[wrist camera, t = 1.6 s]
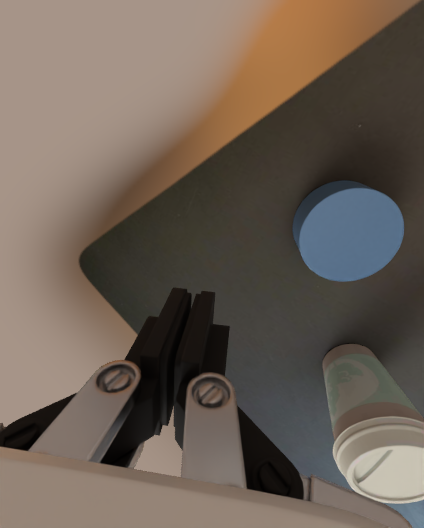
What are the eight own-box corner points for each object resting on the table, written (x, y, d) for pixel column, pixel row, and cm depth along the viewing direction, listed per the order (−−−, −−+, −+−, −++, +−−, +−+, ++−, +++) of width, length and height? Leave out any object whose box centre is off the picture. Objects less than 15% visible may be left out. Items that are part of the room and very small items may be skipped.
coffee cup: (364, 320, 30) (428, 425, 19) (402, 370, 32) (480, 490, 21) (295, 355, 33) (318, 463, 22) (335, 399, 35) (373, 517, 24)
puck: (311, 169, 25) (322, 175, 21) (400, 193, 24) (425, 203, 21) (280, 251, 28) (285, 267, 25) (358, 272, 28) (373, 292, 25)
